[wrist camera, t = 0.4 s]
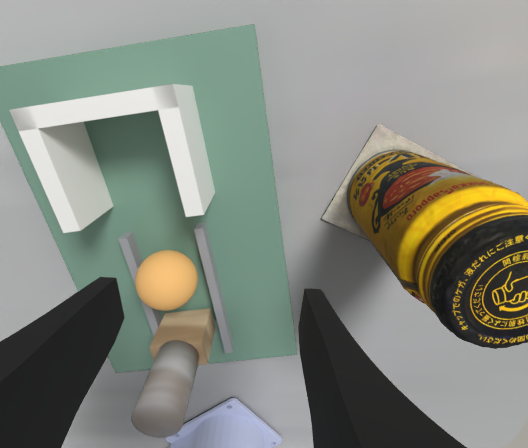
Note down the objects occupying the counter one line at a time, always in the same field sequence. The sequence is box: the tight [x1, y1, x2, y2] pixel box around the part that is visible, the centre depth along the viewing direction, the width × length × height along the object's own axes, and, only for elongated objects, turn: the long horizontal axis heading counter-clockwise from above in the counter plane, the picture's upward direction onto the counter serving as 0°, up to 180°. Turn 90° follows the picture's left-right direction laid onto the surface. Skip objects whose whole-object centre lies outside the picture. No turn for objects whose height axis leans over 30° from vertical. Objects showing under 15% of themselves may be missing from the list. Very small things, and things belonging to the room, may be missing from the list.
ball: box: [135, 250, 198, 311], centre depth 20 cm, size 4×4×4 cm
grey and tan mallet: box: [131, 308, 215, 438], centre depth 20 cm, size 3×4×8 cm
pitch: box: [0, 24, 297, 373], centre depth 22 cm, size 24×16×2 cm, turn 8°
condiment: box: [322, 124, 528, 349], centre depth 16 cm, size 7×8×12 cm
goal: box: [9, 84, 215, 233], centre depth 17 cm, size 6×8×4 cm
